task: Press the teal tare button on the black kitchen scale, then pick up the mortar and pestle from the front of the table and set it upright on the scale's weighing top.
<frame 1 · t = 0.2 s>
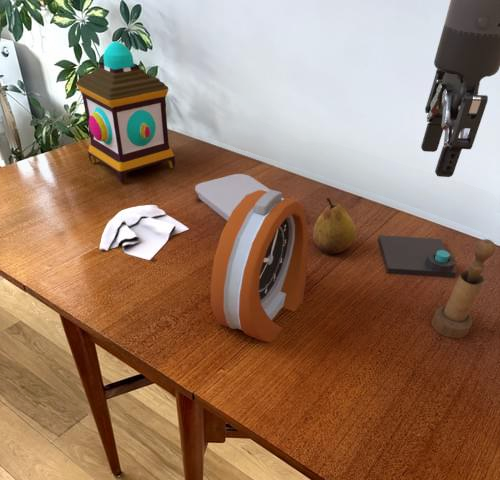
hand: (435, 162, 64), 30 cm above the table, tool pointing down, fingers open, 8 cm apart
alarm clock: (264, 311, 86), on the table
mortar and pestle: (449, 327, 85), on the table
tare button: (442, 256, 95), point 3 cm above the table, slide at 0.1 cm
tablet: (245, 208, 115), on the table
decorative lantern: (133, 166, 130), on the table
cloth: (139, 233, 104), on the table
fruit: (330, 248, 103), on the table
kitchen scale: (414, 258, 101), on the table
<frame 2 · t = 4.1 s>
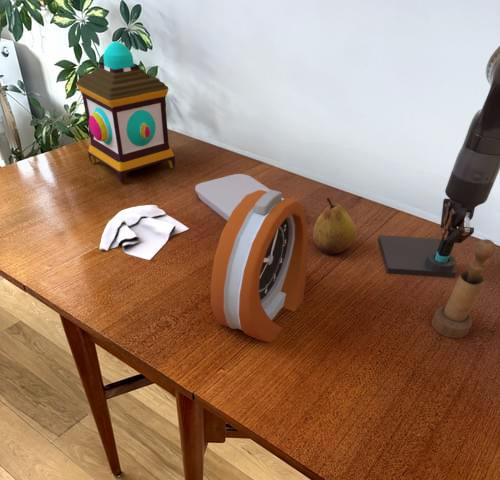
hand: (442, 253, 95), 4 cm above the table, tool pointing down, fingers closed
tare button: (442, 257, 96), point 3 cm above the table, slide at 0.0 cm, touching gripper
everything else where it was.
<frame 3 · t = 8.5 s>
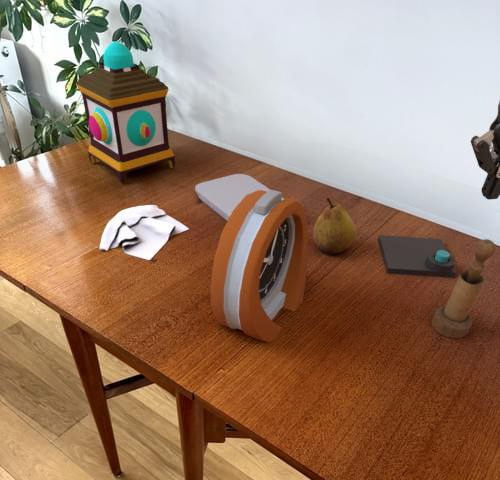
hand: (489, 197, 74), 22 cm above the table, tool pointing down, fingers closed
tare button: (442, 256, 95), point 3 cm above the table, slide at 0.1 cm
everything else where it was.
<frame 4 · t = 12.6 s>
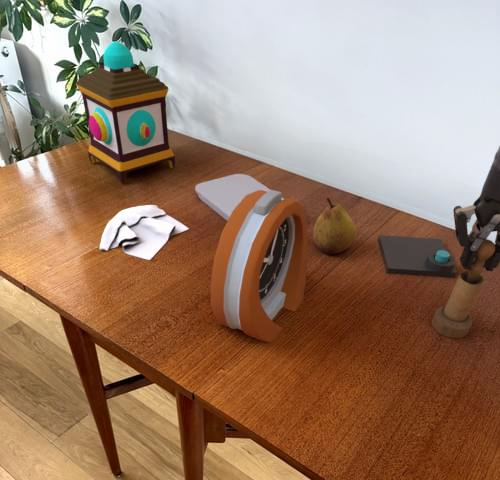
hand: (476, 267, 76), 13 cm above the table, tool pointing down, fingers closed on mortar and pestle, 3 cm apart
mortar and pestle: (449, 327, 85), on the table, touching gripper
everything else where it was.
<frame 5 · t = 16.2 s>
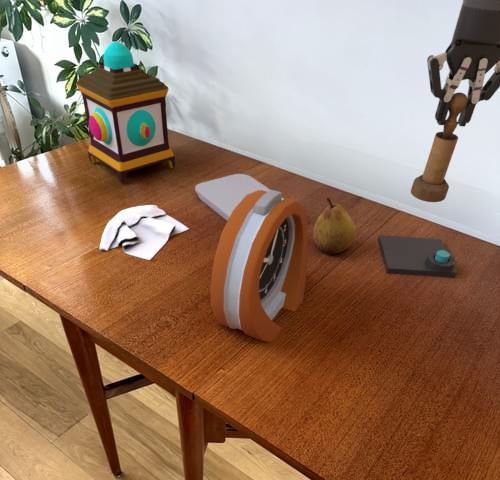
hand: (450, 123, 80), 29 cm above the table, tool pointing down, fingers closed on mortar and pestle, 3 cm apart
mortar and pestle: (427, 195, 89), point 15 cm above the table, touching gripper
everything else where it was.
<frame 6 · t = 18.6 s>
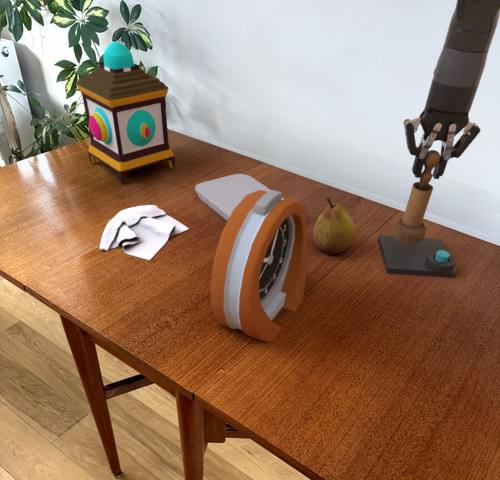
hand: (426, 176, 90), 18 cm above the table, tool pointing down, fingers closed on mortar and pestle, 3 cm apart
mortar and pestle: (407, 236, 99), point 4 cm above the table, touching gripper
everything else where it was.
when the fingers open (15 cm above the table, at t = 19.8 s): mortar and pestle stays where it is, resting on kitchen scale.
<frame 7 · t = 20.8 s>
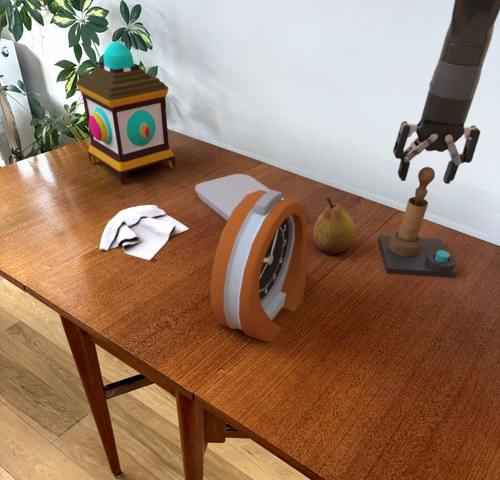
hand: (424, 180, 90), 17 cm above the table, tool pointing down, fingers open, 8 cm apart
mortar and pestle: (403, 249, 101), point 1 cm above the table, touching kitchen scale
everything else where it was.
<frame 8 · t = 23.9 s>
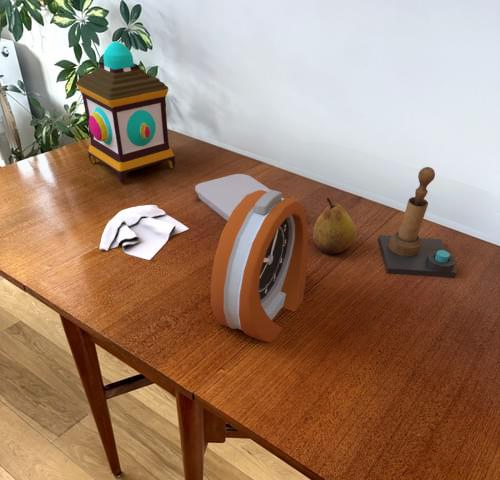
nothing on the table moved.
at the end: tare button pushed in 0.9 cm at the most during the clip, back to where it started at the end; mortar and pestle inside the target area on the kitchen scale (2.8 cm from its centre), point 1.2 cm above the kitchen scale's base; mortar and pestle tilted 0° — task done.
